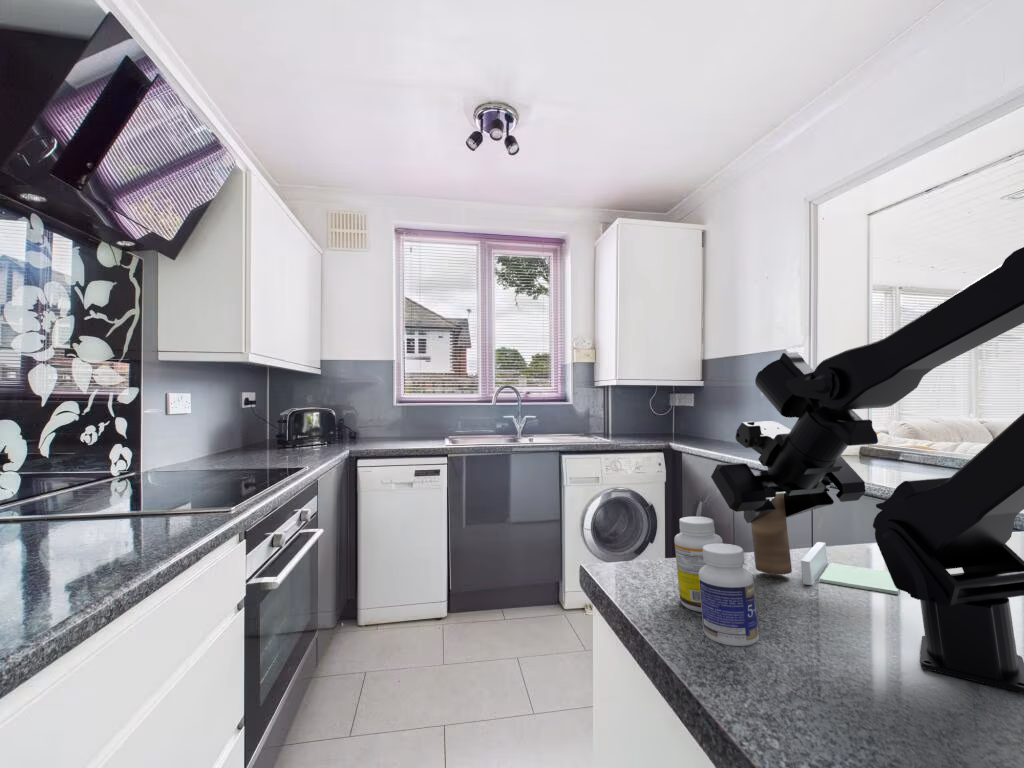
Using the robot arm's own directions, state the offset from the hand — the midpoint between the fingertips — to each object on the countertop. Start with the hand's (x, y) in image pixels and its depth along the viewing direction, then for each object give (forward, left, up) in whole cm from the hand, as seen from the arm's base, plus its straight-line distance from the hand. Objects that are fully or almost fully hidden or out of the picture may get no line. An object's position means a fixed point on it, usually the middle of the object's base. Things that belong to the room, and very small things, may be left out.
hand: (761, 518), depth 65 cm
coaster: (+4, -10, -8) cm, 13 cm away
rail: (+4, -5, -8) cm, 10 cm away
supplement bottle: (-16, +3, -8) cm, 18 cm away
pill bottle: (-22, -2, -8) cm, 23 cm away
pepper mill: (-1, -1, -7) cm, 7 cm away
